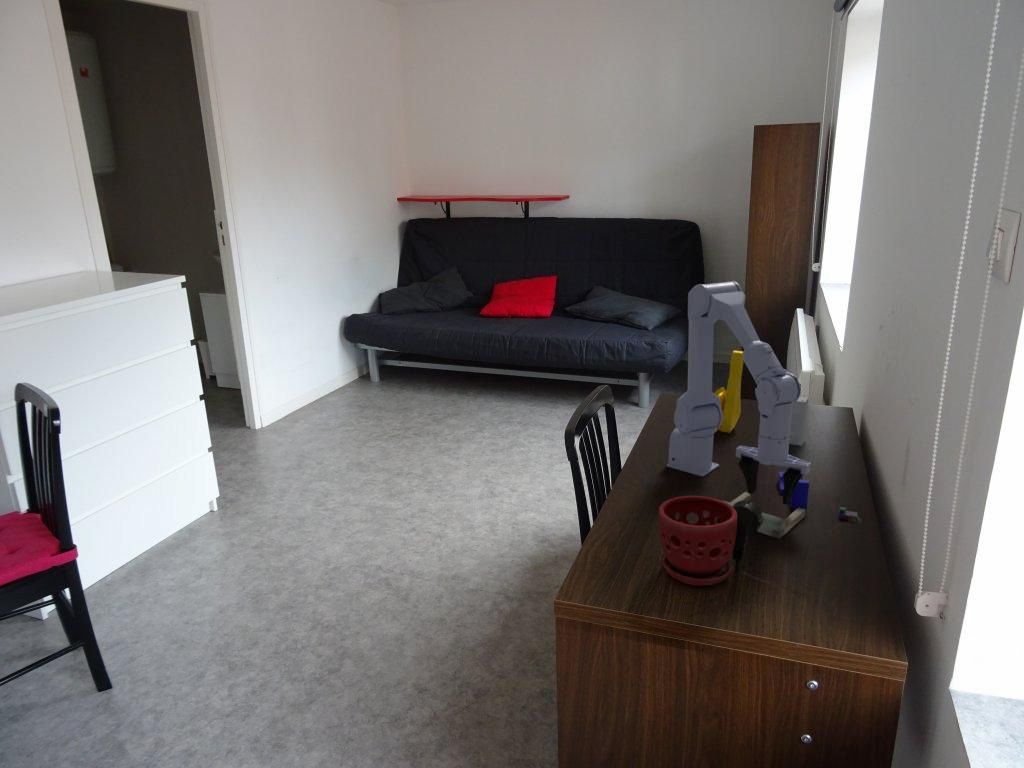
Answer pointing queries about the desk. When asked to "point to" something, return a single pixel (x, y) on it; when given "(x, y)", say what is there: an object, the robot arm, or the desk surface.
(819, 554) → the desk surface
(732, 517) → the plant pot
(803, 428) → the skincare box
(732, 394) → the figure statuette
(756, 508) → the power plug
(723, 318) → the robot arm
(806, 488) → the cable clip
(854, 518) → the multicolored checkered block
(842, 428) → the desk surface
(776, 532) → the channel
